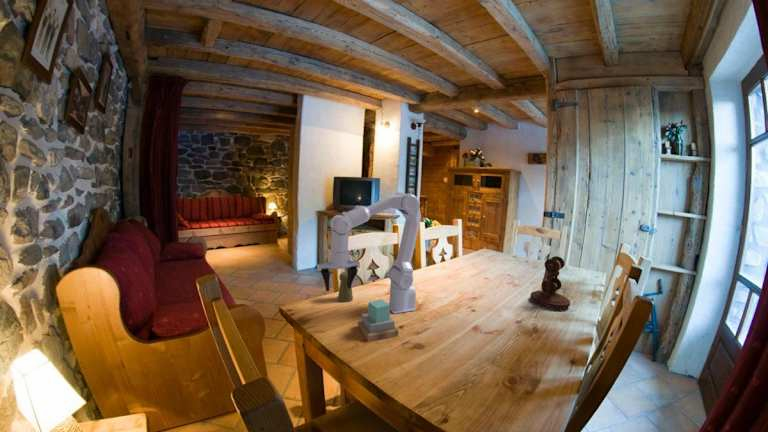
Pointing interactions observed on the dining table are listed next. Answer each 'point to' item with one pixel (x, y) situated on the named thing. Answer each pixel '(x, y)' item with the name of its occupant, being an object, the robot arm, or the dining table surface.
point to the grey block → (377, 324)
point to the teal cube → (378, 311)
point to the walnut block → (377, 333)
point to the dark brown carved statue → (551, 285)
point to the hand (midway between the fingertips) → (338, 288)
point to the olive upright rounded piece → (344, 289)
